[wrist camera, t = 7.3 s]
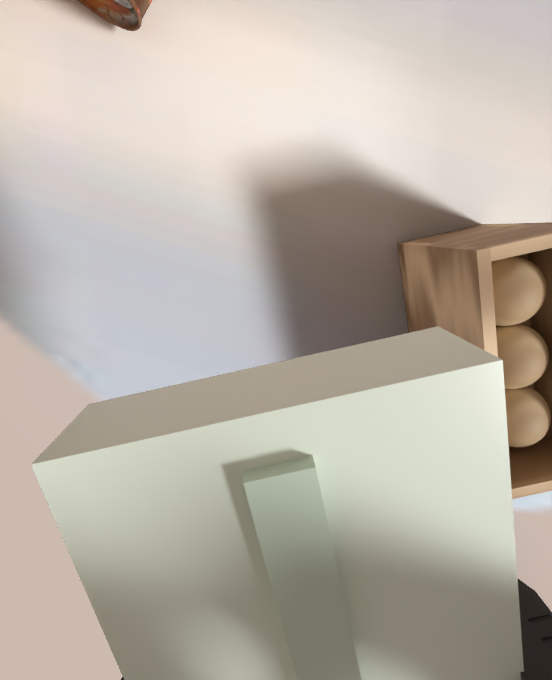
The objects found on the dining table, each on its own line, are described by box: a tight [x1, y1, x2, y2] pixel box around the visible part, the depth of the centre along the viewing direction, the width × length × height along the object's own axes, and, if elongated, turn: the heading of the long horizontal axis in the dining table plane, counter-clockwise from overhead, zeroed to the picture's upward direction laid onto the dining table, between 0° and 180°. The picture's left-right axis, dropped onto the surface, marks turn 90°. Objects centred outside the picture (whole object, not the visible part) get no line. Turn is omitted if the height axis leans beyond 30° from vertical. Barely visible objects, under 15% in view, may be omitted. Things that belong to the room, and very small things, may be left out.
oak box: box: [397, 223, 552, 499], centre depth 24 cm, size 13×6×10 cm, turn 12°
